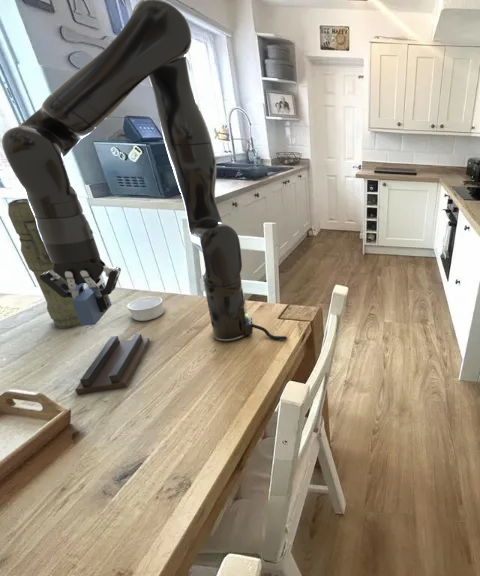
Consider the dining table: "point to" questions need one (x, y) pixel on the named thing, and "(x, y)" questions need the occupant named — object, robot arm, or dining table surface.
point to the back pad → (88, 307)
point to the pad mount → (113, 365)
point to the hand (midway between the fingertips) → (96, 310)
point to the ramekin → (146, 308)
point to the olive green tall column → (40, 263)
